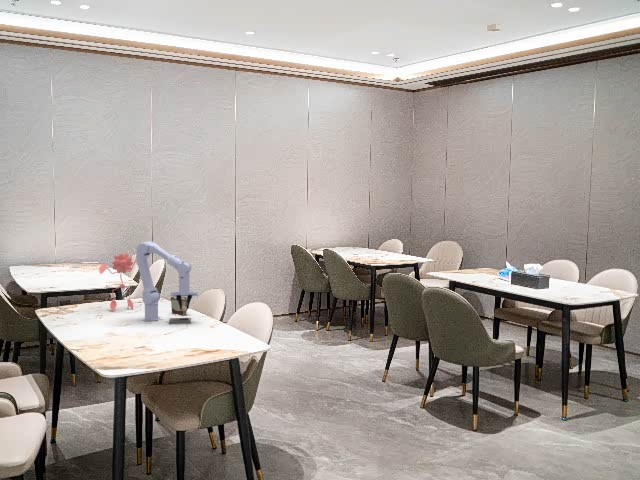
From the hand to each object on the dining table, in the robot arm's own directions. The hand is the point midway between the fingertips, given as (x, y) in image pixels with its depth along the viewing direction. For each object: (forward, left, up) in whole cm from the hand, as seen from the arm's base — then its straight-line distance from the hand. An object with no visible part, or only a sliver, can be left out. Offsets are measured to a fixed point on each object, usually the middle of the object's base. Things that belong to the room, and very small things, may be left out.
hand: (184, 308), depth 346 cm
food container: (-23, -3, -8) cm, 24 cm away
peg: (0, 0, -1) cm, 1 cm away
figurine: (-34, -38, -8) cm, 51 cm away
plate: (0, -3, -7) cm, 8 cm away
